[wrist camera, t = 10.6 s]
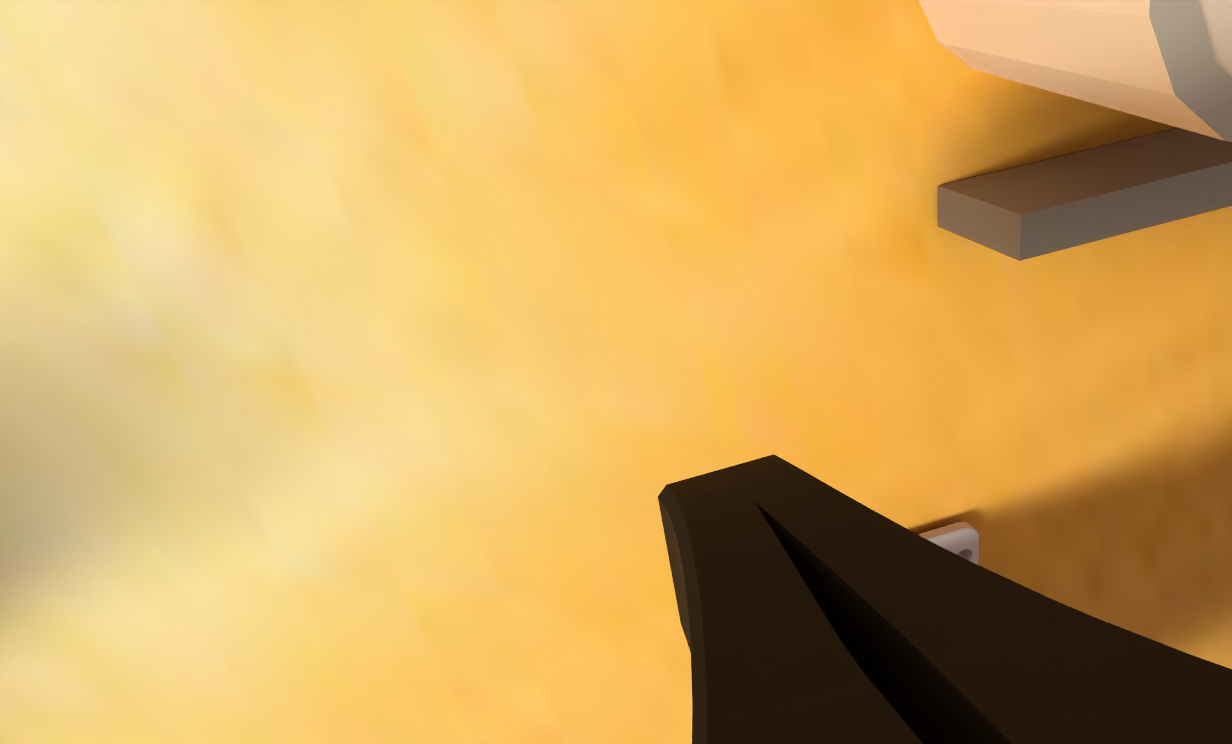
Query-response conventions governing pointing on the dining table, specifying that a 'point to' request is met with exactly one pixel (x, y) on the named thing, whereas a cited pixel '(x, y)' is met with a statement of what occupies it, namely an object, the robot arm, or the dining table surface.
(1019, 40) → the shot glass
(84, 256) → the dining table surface
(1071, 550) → the dining table surface
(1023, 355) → the dining table surface
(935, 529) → the robot arm
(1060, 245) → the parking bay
